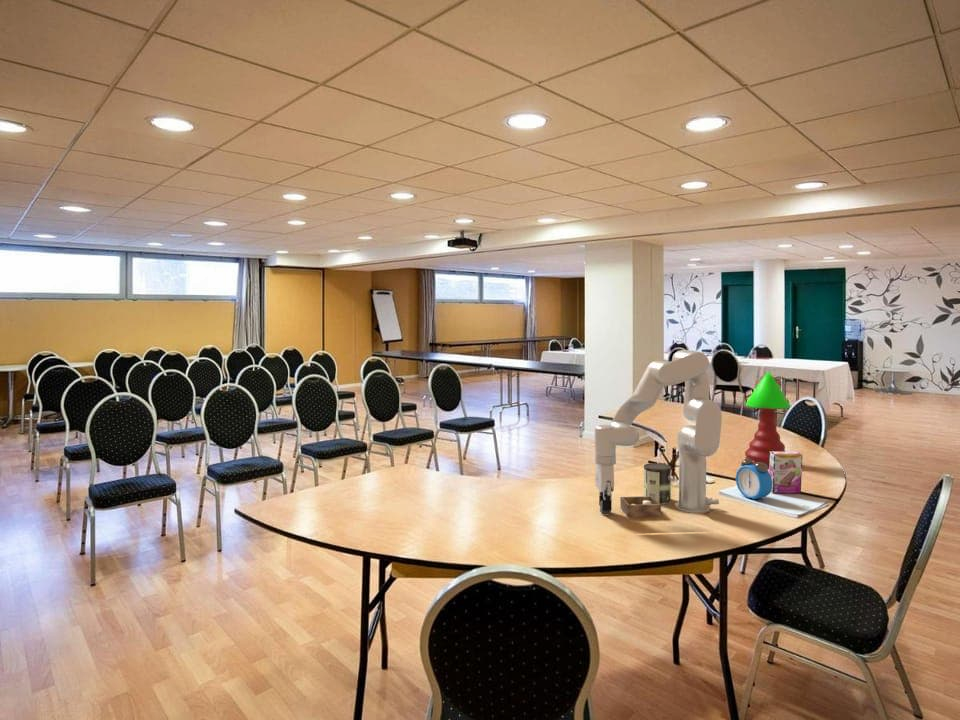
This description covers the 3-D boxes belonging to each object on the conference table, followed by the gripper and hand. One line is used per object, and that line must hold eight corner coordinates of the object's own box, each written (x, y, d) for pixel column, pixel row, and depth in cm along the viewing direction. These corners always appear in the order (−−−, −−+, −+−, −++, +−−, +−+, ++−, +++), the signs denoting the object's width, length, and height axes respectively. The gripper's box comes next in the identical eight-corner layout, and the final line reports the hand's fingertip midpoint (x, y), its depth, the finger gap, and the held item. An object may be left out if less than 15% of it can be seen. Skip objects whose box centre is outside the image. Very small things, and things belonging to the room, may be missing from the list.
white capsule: (649, 510, 219) (649, 500, 218) (652, 513, 216) (652, 502, 215) (641, 510, 218) (641, 500, 218) (644, 513, 215) (644, 503, 215)
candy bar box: (773, 493, 238) (773, 454, 237) (768, 490, 243) (769, 451, 242) (802, 494, 237) (803, 454, 236) (796, 490, 242) (797, 451, 241)
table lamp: (779, 458, 294) (781, 369, 291) (796, 469, 274) (799, 373, 271) (738, 458, 296) (739, 369, 293) (752, 468, 276) (754, 373, 273)
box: (651, 509, 222) (652, 496, 222) (660, 518, 212) (661, 504, 212) (620, 509, 222) (620, 496, 221) (627, 519, 212) (627, 505, 211)
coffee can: (669, 497, 235) (669, 463, 234) (672, 506, 225) (672, 469, 224) (642, 496, 237) (642, 462, 236) (644, 504, 227) (644, 469, 226)
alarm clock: (734, 494, 238) (735, 457, 237) (746, 492, 241) (747, 456, 239) (761, 503, 226) (762, 465, 225) (773, 501, 228) (773, 463, 227)
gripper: (590, 454, 223) (590, 501, 225) (600, 465, 206) (600, 516, 208) (609, 453, 223) (609, 500, 225) (621, 464, 207) (621, 515, 208)
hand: (605, 507), depth 216 cm, fingers open, 4 cm apart
